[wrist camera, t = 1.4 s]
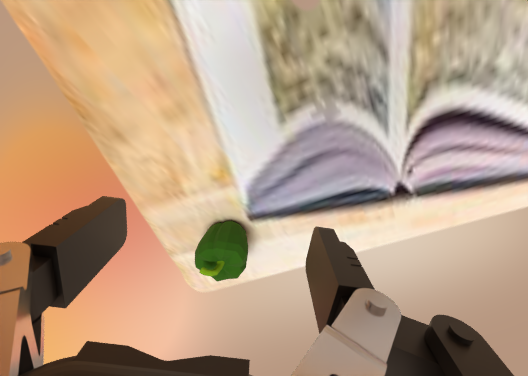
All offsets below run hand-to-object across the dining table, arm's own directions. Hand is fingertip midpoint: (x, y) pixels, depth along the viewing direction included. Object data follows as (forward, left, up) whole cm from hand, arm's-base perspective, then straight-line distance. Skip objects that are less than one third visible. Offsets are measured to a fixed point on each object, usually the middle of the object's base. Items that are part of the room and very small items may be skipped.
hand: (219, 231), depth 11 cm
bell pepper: (+25, 0, -26) cm, 36 cm away
